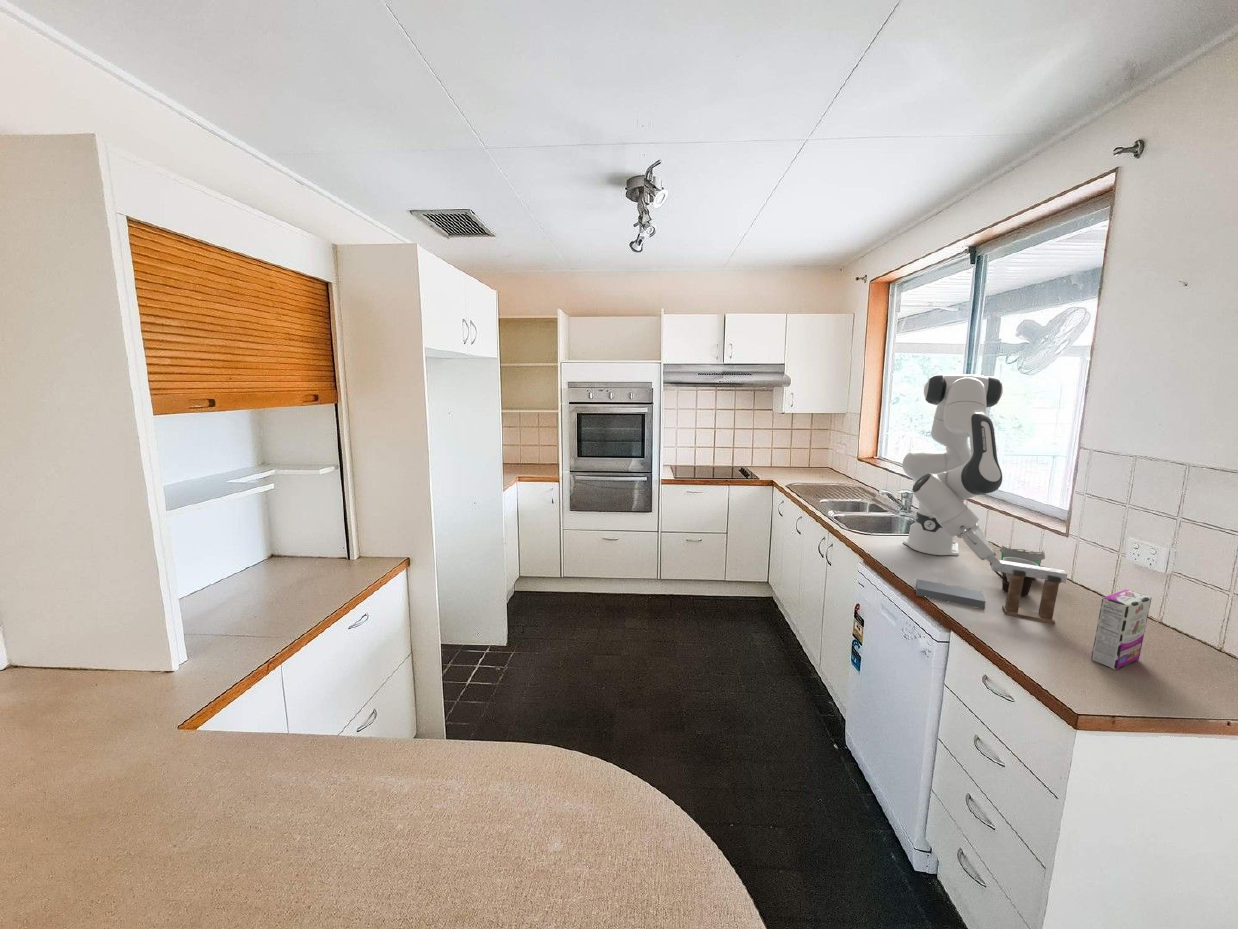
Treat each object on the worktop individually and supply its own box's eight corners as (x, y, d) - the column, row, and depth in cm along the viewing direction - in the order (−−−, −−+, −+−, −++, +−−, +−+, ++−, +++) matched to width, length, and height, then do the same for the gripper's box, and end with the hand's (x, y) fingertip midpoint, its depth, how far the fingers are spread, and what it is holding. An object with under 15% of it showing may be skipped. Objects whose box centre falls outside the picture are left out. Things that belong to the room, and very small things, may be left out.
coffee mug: (1040, 598, 149) (1045, 567, 147) (1011, 598, 149) (1017, 567, 148) (1010, 582, 161) (1015, 554, 159) (984, 582, 161) (989, 553, 159)
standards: (1004, 614, 139) (1012, 570, 136) (1001, 607, 143) (1009, 565, 140) (1055, 624, 133) (1063, 579, 131) (1050, 617, 138) (1058, 573, 135)
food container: (1001, 579, 164) (1006, 550, 162) (995, 572, 169) (1000, 545, 167) (1047, 585, 159) (1052, 556, 157) (1039, 578, 165) (1044, 550, 163)
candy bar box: (1112, 650, 121) (1125, 588, 118) (1139, 660, 117) (1154, 597, 114) (1088, 659, 117) (1101, 596, 114) (1115, 671, 112) (1130, 605, 109)
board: (916, 595, 150) (917, 588, 150) (915, 586, 157) (916, 579, 156) (984, 609, 142) (985, 601, 141) (980, 598, 149) (981, 591, 148)
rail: (992, 570, 139) (993, 562, 139) (990, 567, 142) (992, 558, 142) (1065, 583, 132) (1067, 574, 131) (1062, 579, 134) (1064, 570, 134)
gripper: (974, 525, 132) (1014, 566, 129) (966, 508, 150) (1001, 544, 147) (953, 538, 135) (991, 578, 132) (947, 520, 153) (980, 556, 150)
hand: (996, 560), depth 140 cm, fingers open, 8 cm apart
